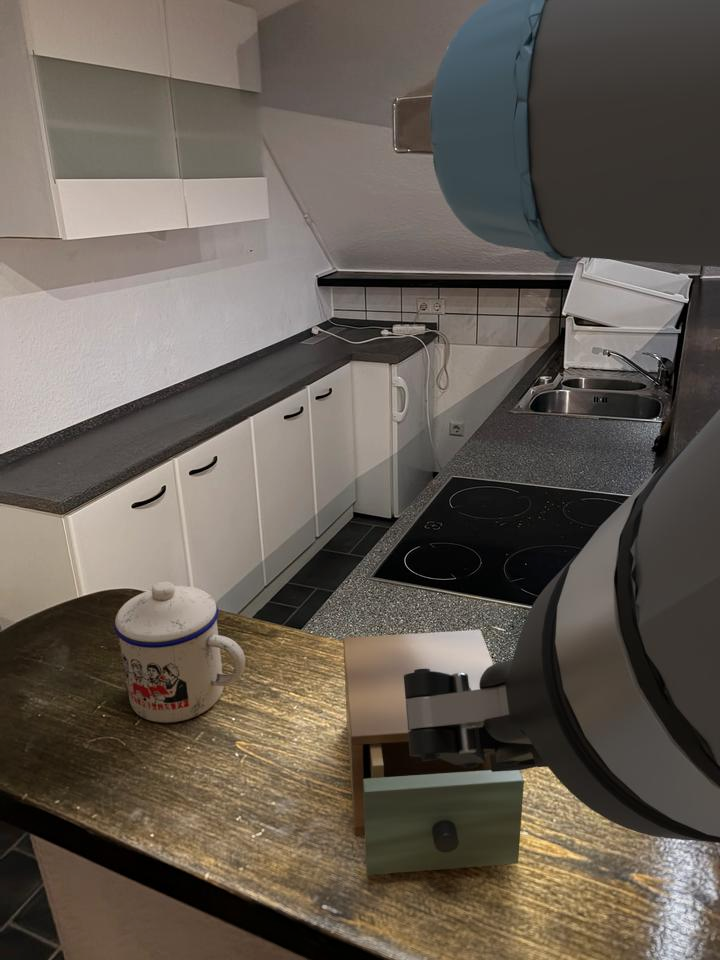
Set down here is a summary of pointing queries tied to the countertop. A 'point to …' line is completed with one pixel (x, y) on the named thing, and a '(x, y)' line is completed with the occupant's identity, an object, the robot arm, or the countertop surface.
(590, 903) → the countertop surface
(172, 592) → the teacup with lid
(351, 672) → the cabinet
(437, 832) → the drawer
